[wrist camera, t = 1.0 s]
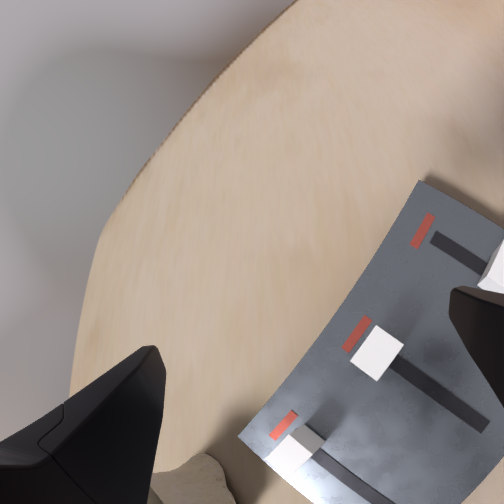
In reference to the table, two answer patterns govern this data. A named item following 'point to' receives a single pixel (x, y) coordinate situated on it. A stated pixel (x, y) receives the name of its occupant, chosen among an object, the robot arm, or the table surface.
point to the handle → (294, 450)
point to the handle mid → (377, 353)
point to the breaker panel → (397, 374)
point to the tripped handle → (494, 272)
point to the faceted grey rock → (191, 484)
